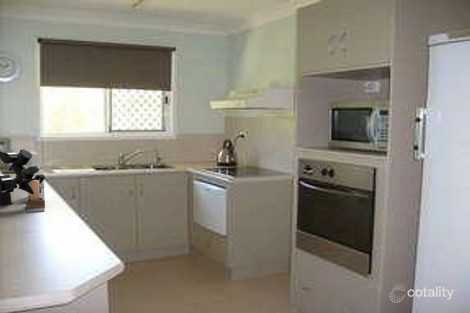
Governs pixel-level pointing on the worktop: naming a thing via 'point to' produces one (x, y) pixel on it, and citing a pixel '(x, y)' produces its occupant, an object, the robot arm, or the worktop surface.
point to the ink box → (41, 190)
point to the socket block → (35, 203)
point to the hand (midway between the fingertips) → (36, 193)
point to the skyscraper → (34, 162)
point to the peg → (35, 190)
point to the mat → (35, 210)
